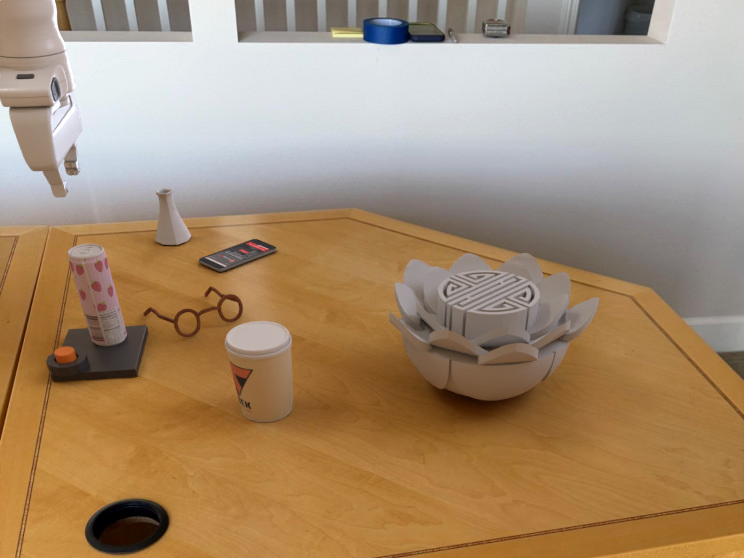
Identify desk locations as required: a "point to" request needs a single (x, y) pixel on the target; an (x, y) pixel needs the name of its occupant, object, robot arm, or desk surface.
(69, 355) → the power button
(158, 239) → the flask
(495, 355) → the decorative bowl
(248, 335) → the coffee cup
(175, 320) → the glasses
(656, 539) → the desk surface
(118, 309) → the beverage can
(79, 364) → the scale
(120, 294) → the desk surface
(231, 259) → the smartphone
